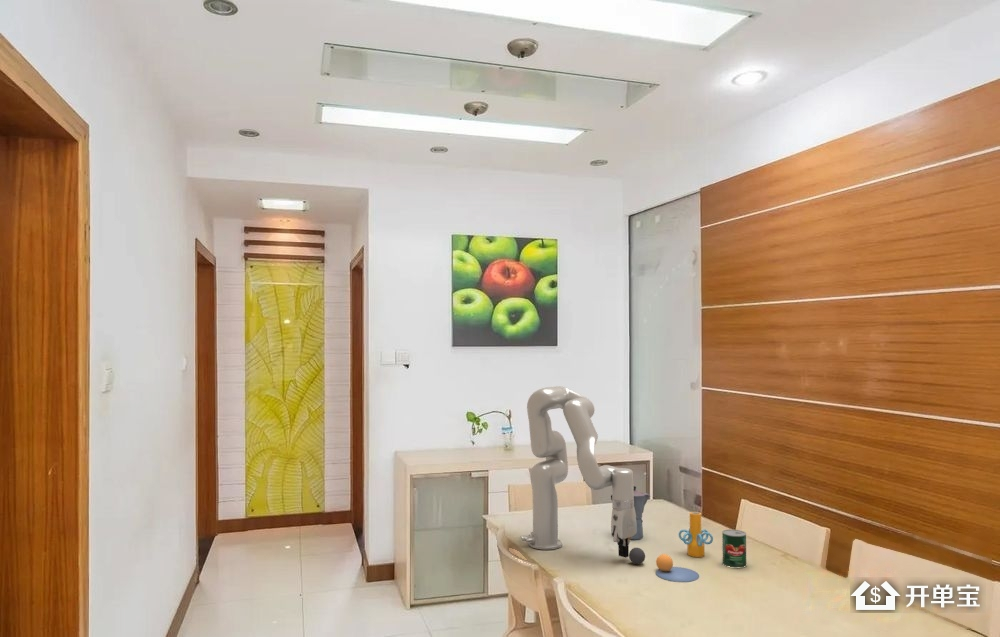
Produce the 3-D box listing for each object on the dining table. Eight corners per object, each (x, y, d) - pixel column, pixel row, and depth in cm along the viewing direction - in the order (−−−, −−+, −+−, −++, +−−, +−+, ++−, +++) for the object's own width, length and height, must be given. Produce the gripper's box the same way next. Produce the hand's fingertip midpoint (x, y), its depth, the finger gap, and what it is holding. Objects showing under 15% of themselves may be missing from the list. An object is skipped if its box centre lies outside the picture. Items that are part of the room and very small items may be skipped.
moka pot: (653, 540, 262) (652, 488, 263) (613, 540, 262) (612, 488, 263) (648, 533, 271) (647, 483, 272) (609, 533, 272) (609, 483, 272)
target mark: (669, 584, 215) (669, 583, 215) (648, 569, 229) (648, 569, 229) (707, 579, 219) (707, 578, 219) (684, 565, 233) (684, 565, 233)
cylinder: (675, 556, 243) (675, 514, 243) (682, 548, 252) (681, 508, 252) (710, 561, 237) (709, 518, 237) (715, 553, 246) (715, 511, 247)
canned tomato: (731, 569, 229) (730, 536, 229) (718, 562, 237) (717, 530, 237) (751, 567, 231) (751, 534, 231) (737, 559, 239) (737, 528, 239)
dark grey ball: (626, 550, 233) (630, 566, 232) (642, 547, 232) (646, 564, 231) (627, 548, 239) (631, 564, 237) (643, 545, 238) (647, 561, 236)
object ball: (651, 563, 227) (664, 572, 223) (659, 549, 228) (673, 558, 224) (656, 567, 231) (669, 576, 227) (664, 553, 232) (677, 562, 228)
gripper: (620, 509, 231) (620, 563, 231) (643, 502, 242) (644, 553, 241) (602, 506, 236) (602, 559, 236) (625, 498, 247) (626, 549, 247)
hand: (623, 556), depth 239 cm, fingers closed
